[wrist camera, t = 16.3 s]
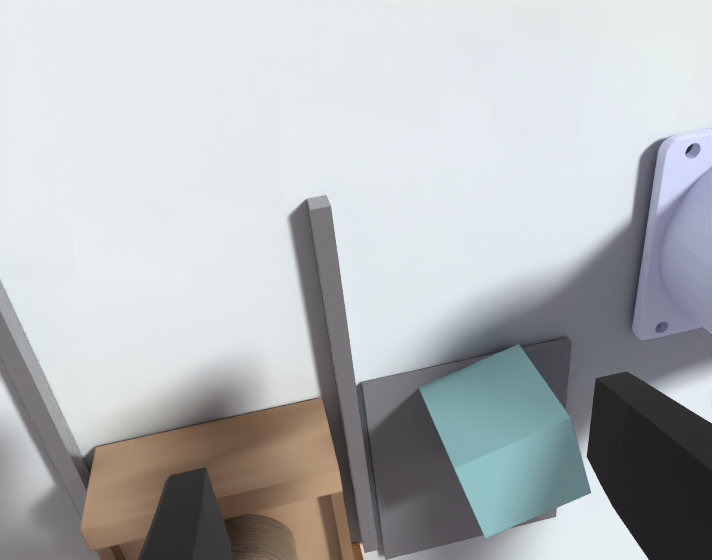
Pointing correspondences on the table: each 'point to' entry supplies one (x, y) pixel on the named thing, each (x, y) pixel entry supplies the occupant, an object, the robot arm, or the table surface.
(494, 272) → the table surface
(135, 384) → the table surface
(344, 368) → the track
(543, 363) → the mat
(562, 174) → the table surface
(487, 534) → the part
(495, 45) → the table surface
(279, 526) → the part
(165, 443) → the brown wooden tray
